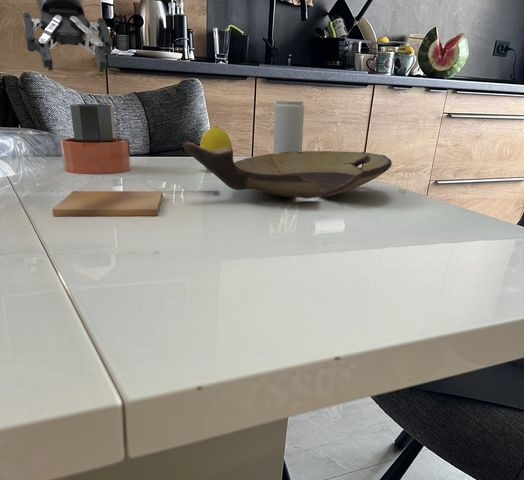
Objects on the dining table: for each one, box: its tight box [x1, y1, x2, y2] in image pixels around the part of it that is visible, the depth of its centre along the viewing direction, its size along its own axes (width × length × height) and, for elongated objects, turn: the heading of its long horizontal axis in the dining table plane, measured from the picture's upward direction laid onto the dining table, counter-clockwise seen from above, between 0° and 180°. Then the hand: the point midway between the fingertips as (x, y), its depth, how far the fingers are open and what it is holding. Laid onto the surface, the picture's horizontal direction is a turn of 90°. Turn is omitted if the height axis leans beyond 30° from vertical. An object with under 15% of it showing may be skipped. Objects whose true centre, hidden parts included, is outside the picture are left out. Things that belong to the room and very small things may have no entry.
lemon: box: [199, 125, 233, 169], centre depth 93 cm, size 6×6×8 cm
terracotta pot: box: [59, 137, 132, 175], centre depth 92 cm, size 11×11×6 cm
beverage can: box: [272, 100, 305, 154], centre depth 91 cm, size 5×5×12 cm
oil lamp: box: [182, 141, 393, 200], centre depth 78 cm, size 22×30×8 cm
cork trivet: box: [52, 190, 164, 217], centre depth 70 cm, size 12×12×1 cm
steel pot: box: [69, 103, 116, 143], centre depth 91 cm, size 6×6×10 cm
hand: (76, 67), depth 94 cm, fingers open, 8 cm apart
